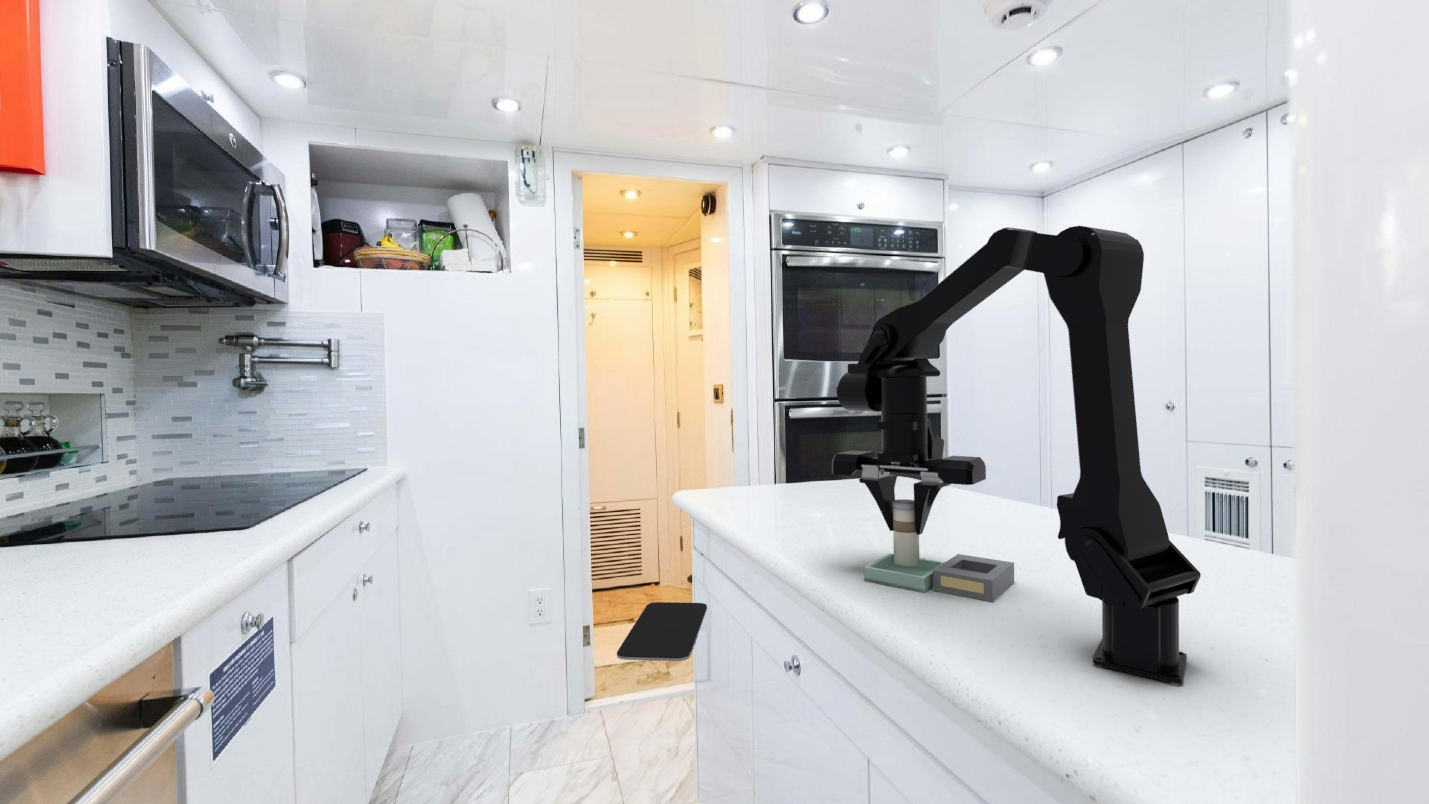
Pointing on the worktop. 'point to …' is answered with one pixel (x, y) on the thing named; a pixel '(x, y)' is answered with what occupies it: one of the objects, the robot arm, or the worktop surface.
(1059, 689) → the worktop surface
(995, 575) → the fuse holder
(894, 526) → the fuse
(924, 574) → the parts tray
